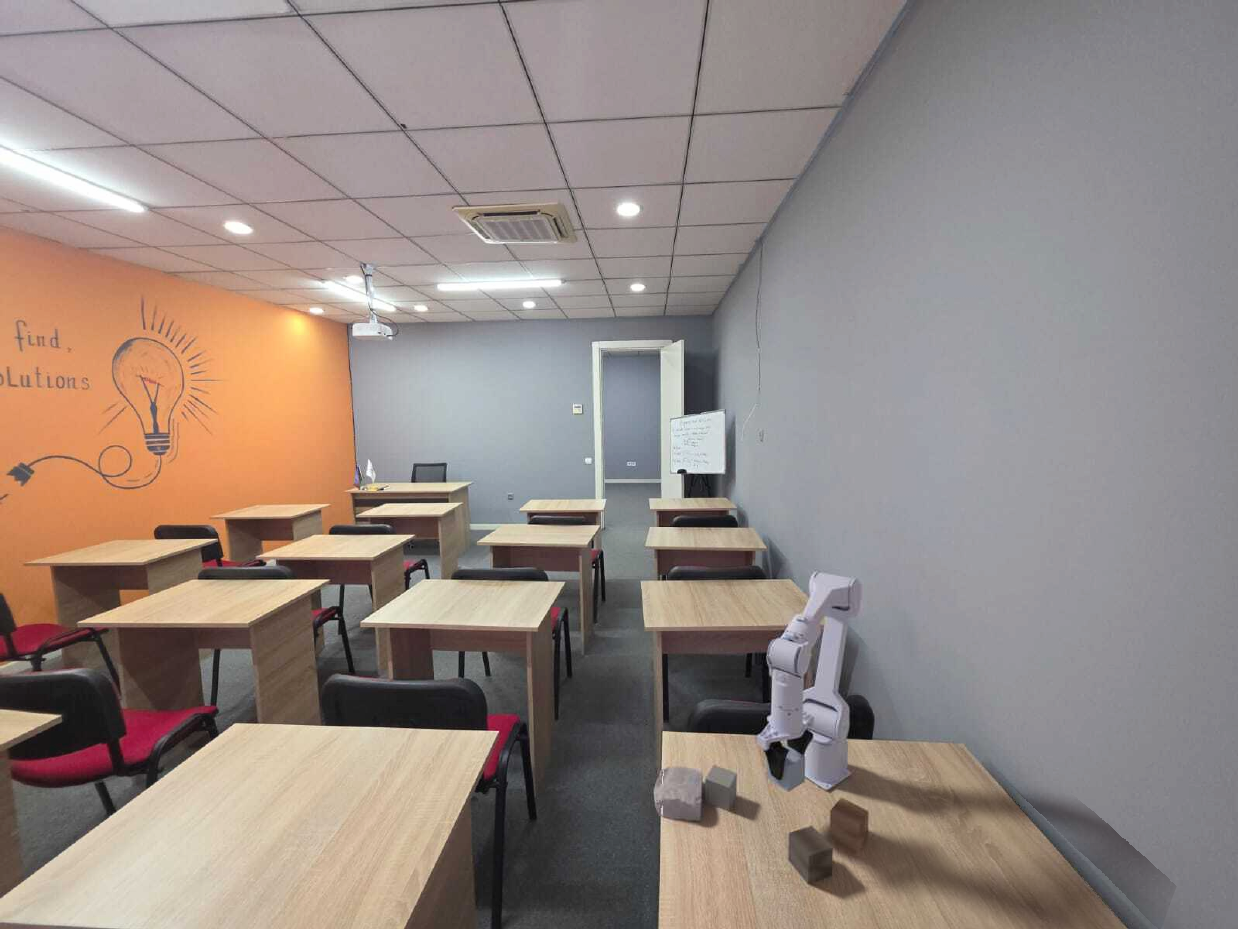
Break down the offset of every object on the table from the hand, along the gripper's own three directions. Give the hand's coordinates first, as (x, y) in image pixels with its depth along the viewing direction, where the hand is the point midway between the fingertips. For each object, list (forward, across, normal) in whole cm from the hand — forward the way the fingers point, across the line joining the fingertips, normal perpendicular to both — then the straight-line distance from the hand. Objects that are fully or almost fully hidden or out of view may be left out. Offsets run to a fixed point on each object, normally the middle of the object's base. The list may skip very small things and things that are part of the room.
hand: (785, 771), depth 94 cm
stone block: (+10, +13, -16) cm, 23 cm away
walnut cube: (+10, -7, +9) cm, 15 cm away
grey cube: (+10, +6, -11) cm, 16 cm away
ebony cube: (+10, +5, +9) cm, 14 cm away
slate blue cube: (+2, 0, 0) cm, 2 cm away
